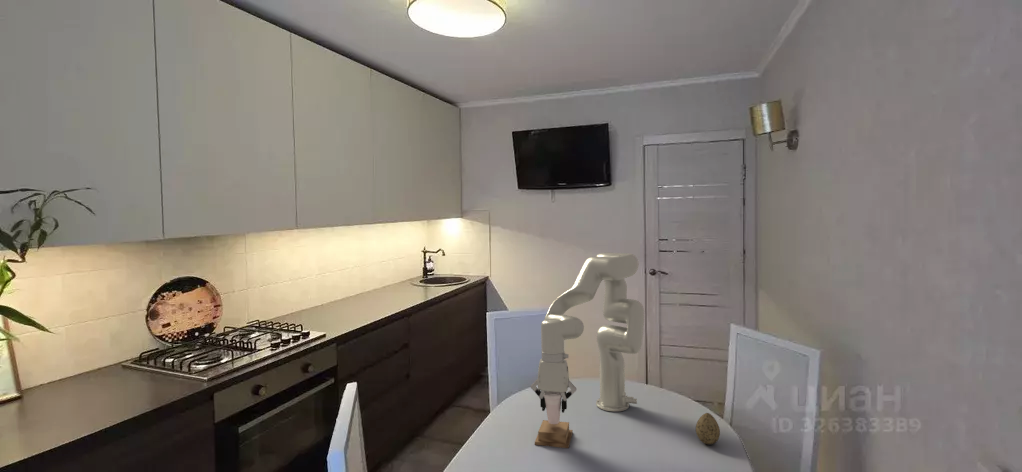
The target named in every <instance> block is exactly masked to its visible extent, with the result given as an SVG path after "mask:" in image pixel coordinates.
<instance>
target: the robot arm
mask: <svg viewBox="0 0 1022 472" xmlns="http://www.w3.org/2000/svg"><path fill="white" fill-rule="evenodd" d="M638 269H639V259H638V258H637V257H636V255H634V254H633V253H629V252H625V253H624V252H599V253H597V255H596V256H590V257H588V258H586V260H584V262H583V264H582V267H581V268H580V270H579V272H578V274H577V277H576V278H575V281H574V283H573V285H572V286H571V287H570V288H569V289H568V290H566V291H564V292H563V293H562V294H560V295H559V296H558V297H556V298H555V299H554V301H553V302H552V303H551V304H550V306H549V308H548V310H547V312H546V315H545V316H544V319H543V321H541V324H540V330H541V331H540V334H541V335H540V337H541V338H540V339H541V341H540V342H541V343H540V344H541V358H540V359H539V362H538V369H537V370H538V371H537V379H536V380H535V381H533V383H531V385H530V389H531V390H532V391H533V392H535V394H536V395H537V397H538V398H539V401H540V408H541V411H542V412H544V411H546V404H545V398H544V397H543V396H544V393H545V391H549V392H560V393H561V395H562V398H561V413H562V414H563V413H565V410H567V408H568V404H567V403H568V401H567V400H568V399H569V398H570V397H571V396H572V395H573V394H574V393H576V392H577V387H576V386H575V385H574V384H573V383H572V382H571V381H570V377H569V376H570V375H569V366H568V361H567V359H569V357H570V356H569V354H568V353H566V352H565V341H566V340H575V339H577V338H579V337H581V336H582V335H583V333H584V330H585V326H584V323H583V321H582V319H580V317H577V316H573V315H566V314H565V313H566V312H567V311H569V310H570V309H572V308H574V307H575V306H578V305H583V304H585V303H588V302H591V301H592V300H593V299H594V298H595V296H596V293H597V291H598V289H599V287H600V285H601V283H602V282H604V296H603V297H604V298H603V310H602V312H603V313H602V314H603V318H604V319H605V320H607V321H609V322H613V323H617V324H618V323H619V324H625V325H626V327H625V326H621V325H614V324H604V325H601V326H600V327H599V328H598V329H597V332H596V342H597V348H598V354H599V357H598V358H599V398H597V400H595V401H596V402H595V405H596V407H597V408H598V409H601V410H603V411H606V412H618V413H619V412H623V411H626V410H628V409H629V408H630V404H633V405H637V404H638V399H637V398H634V396H628V395H626V394H627V393H626V390H625V389H626V387H625V385H626V383H625V381H626V380H625V369H626V368H625V366H626V365H625V358H624V356H623V354H629V355H636V354H638V353H639V352H640V351H641V348H642V345H643V337H644V336H643V335H644V325H645V324H644V323H645V309H644V306H643V304H642V302H640V301H639V300H638V299H637V300H636V299H632V298H627V293H628V285H627V281H626V279H627V278H630V277H633V276H634V275H636V273H637V271H638ZM622 353H623V354H622ZM568 389H570V390H569V391H568Z"/></svg>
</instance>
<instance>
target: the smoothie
mask: <svg viewBox="0 0 1022 472" xmlns="http://www.w3.org/2000/svg"><path fill="white" fill-rule="evenodd" d="M543 397H544V398H545V404H546V408H545V411H546V415H547V416H546V417H547V420H548V422H549V423H550V424H558V423H559V422H560V421H561V420H560V418H561V410H562V395H561V393H560V392H549V391H545V393H544V396H543Z"/></svg>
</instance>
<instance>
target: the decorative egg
mask: <svg viewBox="0 0 1022 472" xmlns="http://www.w3.org/2000/svg"><path fill="white" fill-rule="evenodd" d="M695 432H696V436H697V438H698V440H699V441H700V442H702V443H703V444H704V445H709V446H710V445H714V444H716V443H717V442H718V441H719V439H720V435H721V429H720V426H719V423H718V421H717V420H716V418H715V417H714V416H713V415H712V413H709V412H705V413H703V414H702V415H701V416H699V418H698V420H697V422H696V424H695Z"/></svg>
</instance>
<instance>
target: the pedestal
mask: <svg viewBox="0 0 1022 472" xmlns="http://www.w3.org/2000/svg"><path fill="white" fill-rule="evenodd" d="M572 437H573V429H570V422H569V421H559V423H558V424H550V423H549V422H548V419H547V420H546V419H544V420H542V422H541V424H540V427H539V429H538V432H537V435H536V438H535V440H534V446H540V447H541V446H542V447H543V446H544V447H553V448H560V449H561V448H563V449H569V448H570V444H571V441H572Z"/></svg>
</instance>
